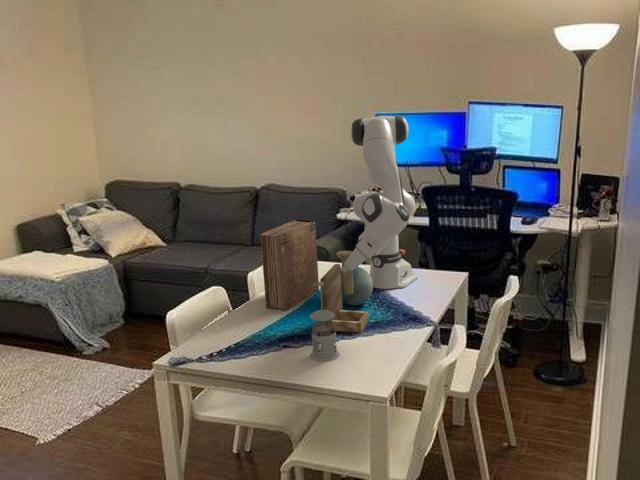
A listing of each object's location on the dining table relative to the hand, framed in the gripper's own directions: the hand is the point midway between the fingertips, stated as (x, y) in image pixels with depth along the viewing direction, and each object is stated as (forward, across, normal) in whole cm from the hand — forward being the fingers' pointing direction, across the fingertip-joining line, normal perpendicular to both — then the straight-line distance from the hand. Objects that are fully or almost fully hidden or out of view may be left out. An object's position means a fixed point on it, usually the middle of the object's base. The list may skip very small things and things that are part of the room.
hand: (345, 268), depth 230 cm
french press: (+16, +25, +14) cm, 33 cm away
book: (+36, -23, -5) cm, 43 cm away
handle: (+6, 0, +7) cm, 9 cm away
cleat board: (+15, 0, +15) cm, 21 cm away
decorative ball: (+17, -21, +13) cm, 30 cm away
